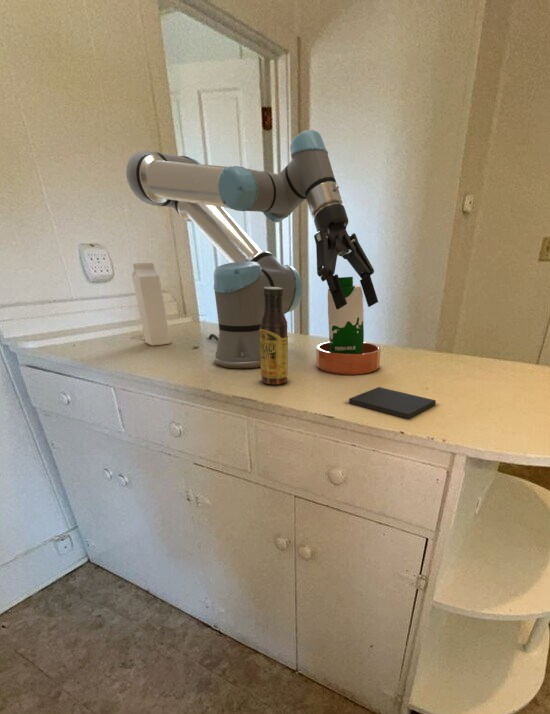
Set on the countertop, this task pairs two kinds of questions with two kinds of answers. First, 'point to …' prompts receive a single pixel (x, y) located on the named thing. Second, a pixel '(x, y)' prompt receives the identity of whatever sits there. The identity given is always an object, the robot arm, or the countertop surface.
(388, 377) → the countertop surface
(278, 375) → the sauce bottle
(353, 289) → the drink carton
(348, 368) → the bowl
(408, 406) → the mat
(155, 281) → the milk
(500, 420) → the countertop surface
